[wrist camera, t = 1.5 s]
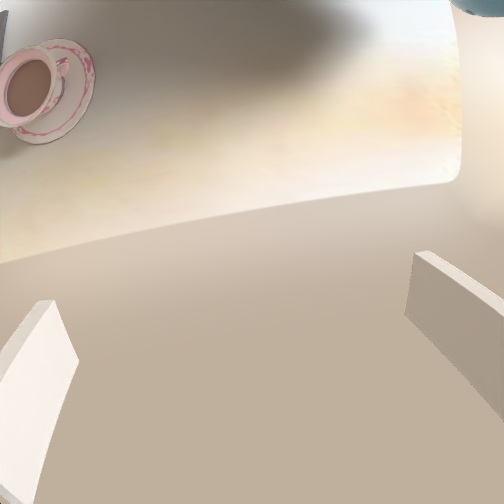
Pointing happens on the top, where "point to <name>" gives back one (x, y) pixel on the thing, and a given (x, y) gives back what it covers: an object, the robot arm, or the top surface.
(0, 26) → the mat
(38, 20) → the top surface
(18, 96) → the teacup
